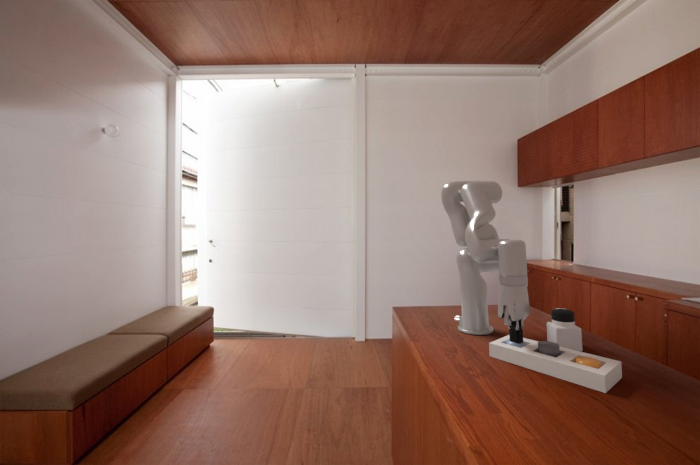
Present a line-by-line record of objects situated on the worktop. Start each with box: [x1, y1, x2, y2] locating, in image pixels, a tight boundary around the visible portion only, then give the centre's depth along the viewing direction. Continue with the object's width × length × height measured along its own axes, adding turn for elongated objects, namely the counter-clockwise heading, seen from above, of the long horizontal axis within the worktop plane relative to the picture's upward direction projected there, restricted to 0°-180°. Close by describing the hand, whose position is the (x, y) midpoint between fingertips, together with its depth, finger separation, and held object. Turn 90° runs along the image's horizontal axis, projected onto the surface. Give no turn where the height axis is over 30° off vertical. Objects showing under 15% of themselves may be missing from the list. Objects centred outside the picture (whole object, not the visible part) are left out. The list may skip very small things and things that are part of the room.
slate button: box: [506, 339, 525, 348], centre depth 92 cm, size 5×5×4 cm
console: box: [488, 334, 623, 394], centre depth 84 cm, size 28×12×4 cm, turn 35°
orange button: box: [576, 356, 601, 369], centre depth 77 cm, size 5×5×4 cm
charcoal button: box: [538, 340, 560, 357], centre depth 84 cm, size 5×5×4 cm
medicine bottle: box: [546, 307, 583, 352], centre depth 97 cm, size 7×7×12 cm
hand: (516, 341), depth 91 cm, fingers closed
